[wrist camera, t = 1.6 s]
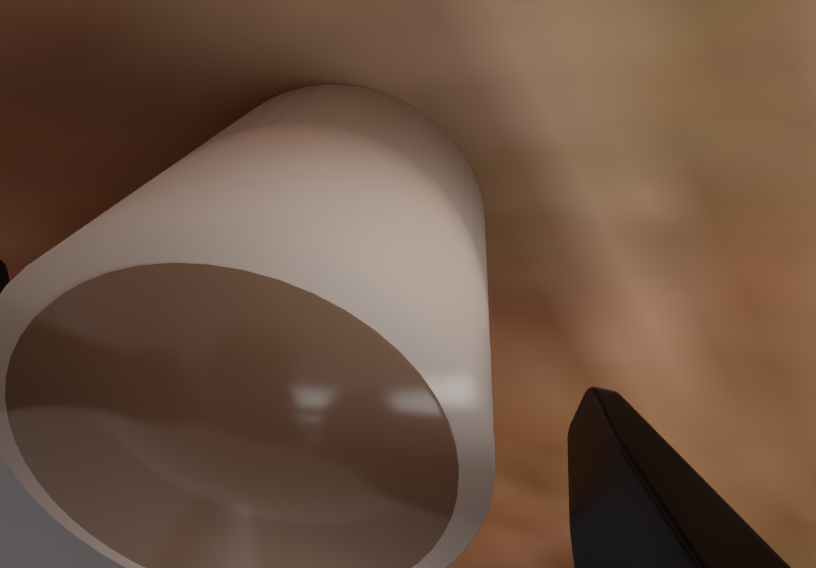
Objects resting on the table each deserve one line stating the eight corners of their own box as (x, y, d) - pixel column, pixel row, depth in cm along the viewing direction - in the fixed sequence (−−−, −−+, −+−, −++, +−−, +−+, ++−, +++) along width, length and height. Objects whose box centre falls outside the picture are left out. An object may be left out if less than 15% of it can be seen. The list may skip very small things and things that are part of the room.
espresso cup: (520, 121, 11) (574, 308, 5) (433, 419, 15) (408, 713, 9) (208, 53, 11) (-96, 163, 5) (205, 370, 15) (34, 635, 9)
